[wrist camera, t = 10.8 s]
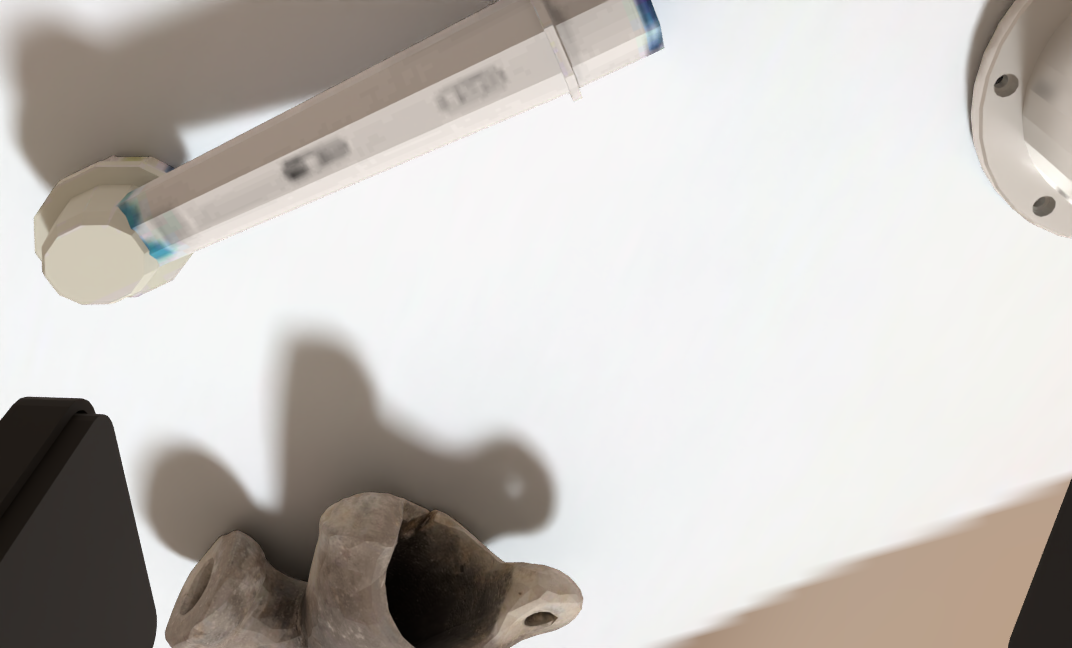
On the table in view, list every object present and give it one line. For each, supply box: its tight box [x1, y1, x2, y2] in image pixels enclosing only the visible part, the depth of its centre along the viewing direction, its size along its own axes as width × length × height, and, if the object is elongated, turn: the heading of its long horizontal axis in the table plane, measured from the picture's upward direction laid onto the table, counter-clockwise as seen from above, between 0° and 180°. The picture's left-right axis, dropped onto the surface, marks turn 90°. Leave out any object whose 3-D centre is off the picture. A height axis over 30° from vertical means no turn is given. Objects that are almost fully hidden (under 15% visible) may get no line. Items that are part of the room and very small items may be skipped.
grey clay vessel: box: [165, 492, 583, 648], centre depth 48 cm, size 16×9×15 cm
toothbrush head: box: [34, 0, 664, 305], centre depth 38 cm, size 5×7×25 cm
